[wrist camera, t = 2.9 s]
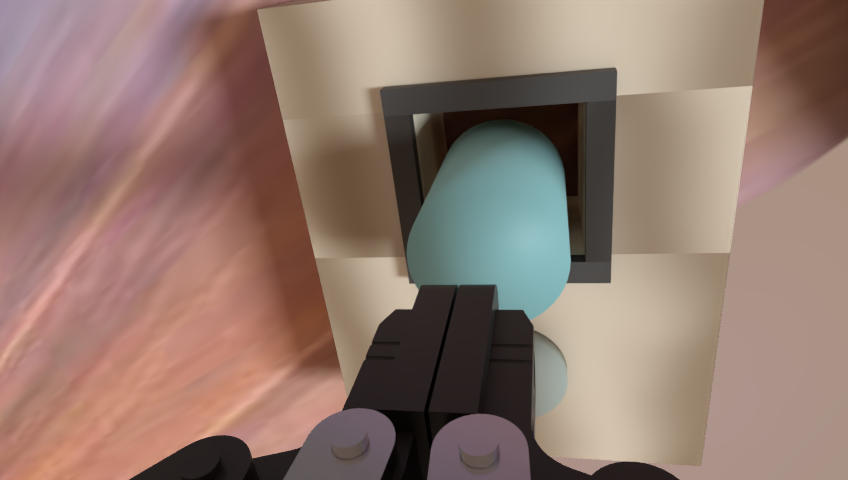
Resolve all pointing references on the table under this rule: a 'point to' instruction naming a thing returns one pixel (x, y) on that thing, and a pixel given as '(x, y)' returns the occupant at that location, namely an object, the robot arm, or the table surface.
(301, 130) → the socket board
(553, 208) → the light blue rounded piece
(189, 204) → the table surface
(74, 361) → the table surface
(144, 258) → the table surface
